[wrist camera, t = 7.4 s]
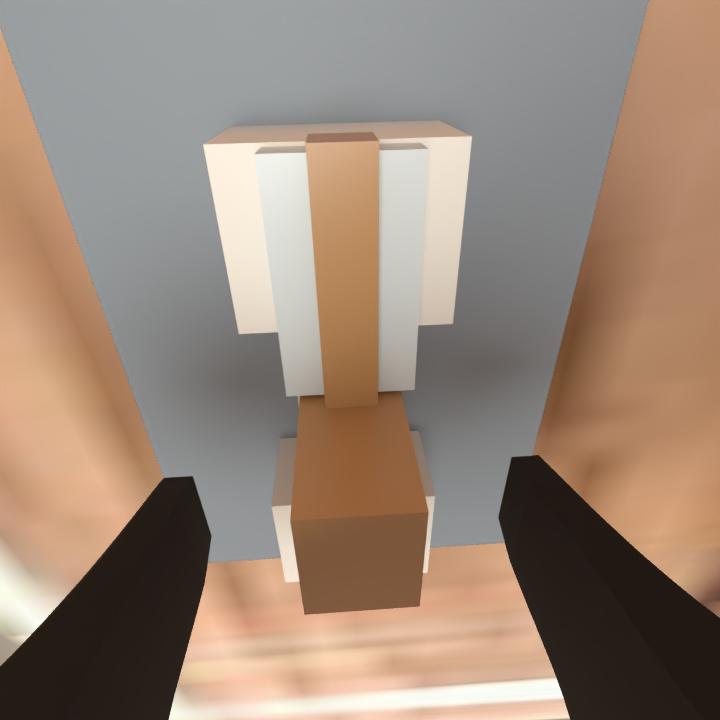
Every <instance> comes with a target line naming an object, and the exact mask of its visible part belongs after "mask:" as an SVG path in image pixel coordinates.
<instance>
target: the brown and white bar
mask: <svg viewBox="0 0 720 720" xmlns="http://www.w3.org/2000/svg"><path fill="white" fill-rule="evenodd" d="M305 144H306V146H279V147H260V148H259V149H258V150H257V151H256V153H255V154H254V155H255V162H256V170H257V178H258V185H259V193H260V200H261V208H262V215H263V223H264V231H265V238H266V246H267V253H268V261H269V268H270V276H271V284H272V291H273V299H274V306H275V314H276V321H277V329H278V337H279V344H280V352H281V359H282V367H283V374H284V382H285V390H286V397H287V396H300V402H299V415H298V428H297V440H296V453H295V465H294V478H293V490H292V503H291V515H290V524H291V530H292V536H293V543H294V549H295V556H296V562H297V569H298V575H299V581H300V588H301V594H302V601H303V607H304V614H305V615H306V614H320V613H334V612H348V611H361V610H375V609H389V608H403V607H417V606H420V597H421V586H422V576H423V566H424V556H425V545H426V535H427V525H428V515H429V511H428V507H427V502H426V498H425V494H424V489H423V485H422V480H421V476H420V472H419V467H418V463H417V459H416V454H415V450H414V446H413V441H412V437H411V433H410V428H409V424H408V419H407V415H406V411H405V406H404V402H403V398H402V393H401V391H403V390H414V389H415V372H416V355H417V338H418V321H419V304H420V287H421V270H422V254H423V237H424V220H425V203H426V186H427V169H428V152H429V149H428V148H427V147H426V146H424V145H423V144H422V143H421V142H420V143H385V144H379V140H378V138H377V137H376V136H375V134H374V133H373V132H354V133H317V134H308V135H307V139H306V143H305Z"/></svg>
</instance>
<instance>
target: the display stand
mask: <svg viewBox="0 0 720 720" xmlns="http://www.w3.org/2000/svg"><path fill="white" fill-rule="evenodd" d="M648 1H649V0H0V29H1V31H2V34H3V37H4V40H5V42H6V45H7V48H8V51H9V53H10V56H11V59H12V62H13V64H14V67H15V70H16V73H17V75H18V78H19V81H20V84H21V86H22V89H23V92H24V95H25V97H26V100H27V103H28V106H29V108H30V111H31V114H32V117H33V119H34V122H35V125H36V128H37V130H38V133H39V136H40V139H41V141H42V144H43V147H44V150H45V152H46V155H47V158H48V161H49V163H50V166H51V169H52V172H53V174H54V177H55V180H56V183H57V186H58V188H59V191H60V194H61V197H62V199H63V202H64V205H65V208H66V210H67V213H68V216H69V219H70V221H71V224H72V227H73V230H74V232H75V235H76V238H77V241H78V243H79V246H80V249H81V252H82V254H83V257H84V260H85V263H86V265H87V268H88V271H89V274H90V276H91V279H92V282H93V285H94V287H95V290H96V293H97V296H98V298H99V301H100V304H101V307H102V309H103V312H104V315H105V318H106V320H107V323H108V326H109V329H110V331H111V334H112V337H113V340H114V342H115V345H116V348H117V351H118V353H119V356H120V359H121V362H122V364H123V367H124V370H125V373H126V375H127V378H128V381H129V384H130V387H131V389H132V392H133V395H134V398H135V400H136V403H137V406H138V409H139V411H140V414H141V417H142V420H143V422H144V425H145V428H146V431H147V433H148V436H149V439H150V442H151V444H152V447H153V450H154V453H155V455H156V458H157V461H158V464H159V466H160V469H161V472H162V475H163V477H164V478H169V477H186V476H193V478H194V481H195V484H196V488H197V491H198V494H199V497H200V500H201V504H202V507H203V510H204V513H205V516H206V520H207V523H208V526H209V529H210V532H211V536H212V537H211V544H210V551H209V558H208V563H215V562H230V561H244V560H259V559H274V558H281V560H282V565H283V570H284V576H285V581H286V582H299V575H298V569H297V562H296V556H295V549H294V543H293V536H292V530H291V524H290V515H291V503H292V490H293V478H294V465H295V453H296V440H297V428H298V415H299V402H300V396H287V397H286V390H285V382H284V374H283V367H282V359H281V352H280V344H279V337H278V329H277V321H276V314H275V306H274V299H273V291H272V284H271V276H270V268H269V261H268V253H267V246H266V238H265V231H264V223H263V215H262V208H261V200H260V193H259V185H258V178H257V170H256V162H255V155H254V154H255V153H256V151H257V150H258V149H259V148H260V147H279V146H306V144H305V143H306V139H307V135H308V134H317V133H354V132H373V133H374V134H375V136H376V137H377V138H378V140H379V144H385V143H420V142H421V143H422V144H423V145H424V146H426V147H427V148H428V149H429V152H428V169H427V186H426V203H425V220H424V237H423V254H422V270H421V287H420V304H419V321H418V338H417V355H416V372H415V389H414V390H403V391H401V393H402V398H403V402H404V406H405V411H406V415H407V419H408V424H409V428H410V433H411V437H412V441H413V446H414V450H415V454H416V459H417V463H418V467H419V472H420V476H421V480H422V485H423V489H424V494H425V498H426V502H427V507H428V511H429V515H428V525H427V535H426V545H425V556H424V566H423V573H427V570H428V561H429V551H430V548H436V547H451V546H465V545H480V544H495V543H505V541H504V538H503V534H502V530H501V526H500V523H499V519H498V516H499V511H500V507H501V502H502V498H503V493H504V489H505V484H506V480H507V475H508V471H509V466H510V462H511V457H518V456H532V455H533V451H534V447H535V443H536V439H537V435H538V431H539V427H540V423H541V419H542V416H543V412H544V408H545V404H546V400H547V396H548V392H549V388H550V384H551V380H552V376H553V372H554V369H555V365H556V361H557V357H558V353H559V349H560V345H561V341H562V337H563V333H564V329H565V325H566V322H567V318H568V314H569V310H570V306H571V302H572V298H573V294H574V290H575V286H576V282H577V279H578V275H579V271H580V267H581V263H582V259H583V255H584V251H585V247H586V243H587V239H588V235H589V232H590V228H591V224H592V220H593V216H594V212H595V208H596V204H597V200H598V196H599V192H600V188H601V185H602V181H603V177H604V173H605V169H606V165H607V161H608V157H609V153H610V149H611V145H612V141H613V138H614V134H615V130H616V126H617V122H618V118H619V114H620V110H621V106H622V102H623V98H624V95H625V91H626V87H627V83H628V79H629V75H630V71H631V67H632V63H633V59H634V55H635V51H636V48H637V44H638V40H639V36H640V32H641V28H642V24H643V20H644V16H645V12H646V8H647V4H648Z"/></svg>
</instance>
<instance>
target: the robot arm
mask: <svg viewBox="0 0 720 720" xmlns="http://www.w3.org/2000/svg"><path fill="white" fill-rule="evenodd" d="M498 519H499V523H500V526H501V530H502V534H503V538H504V541H505V545H506V548H507V552H508V555H509V559H510V562H511V565H512V567H513V570H514V573H515V575H516V578H517V580H518V583H519V585H520V588H521V590H522V593H523V595H524V598H525V600H526V603H527V605H528V608H529V610H530V613H531V615H532V617H533V620H534V622H535V625H536V627H537V630H538V632H539V635H540V637H541V640H542V642H543V645H544V647H545V649H546V652H547V654H548V657H549V659H550V662H551V664H552V667H553V669H554V672H555V675H556V678H557V680H558V683H559V686H560V688H561V691H562V694H563V697H564V700H565V704H566V707H567V710H568V713H569V717H570V720H720V618H719V617H718V616H716V615H715V614H714V613H713V612H711V611H710V610H709V609H707V608H706V607H705V606H703V605H702V604H701V603H700V602H698V601H697V600H696V599H694V598H693V597H692V596H691V595H689V594H688V593H687V592H686V591H684V590H683V589H682V588H681V587H680V586H678V585H677V584H676V583H675V582H673V581H672V580H671V579H670V578H669V577H668V576H666V575H665V574H664V573H663V572H662V571H661V570H659V569H658V568H657V567H656V566H655V565H654V564H652V563H651V562H650V561H649V560H648V559H647V558H645V557H644V556H643V555H642V554H641V553H640V552H639V551H638V550H637V549H635V548H634V547H633V546H632V545H631V544H630V543H629V542H628V541H627V540H626V539H624V538H623V537H622V536H621V535H620V534H619V533H618V532H617V531H616V530H615V529H614V528H613V527H612V526H610V525H609V524H608V523H607V522H606V521H605V520H604V519H603V518H602V517H601V516H600V515H599V514H598V513H597V512H596V511H595V510H594V509H593V508H591V507H590V506H589V505H588V504H587V503H586V502H585V501H584V500H583V499H582V498H581V497H580V496H579V495H578V494H577V493H576V492H575V491H574V490H573V489H572V488H571V487H570V486H569V485H568V484H567V483H566V482H565V481H564V480H563V479H562V478H561V477H560V476H559V475H558V474H557V473H556V472H555V471H554V470H553V469H552V468H551V467H550V466H549V465H548V464H547V463H546V462H545V461H544V460H543V459H542V458H541V457H540V456H539V455H535V456H518V457H511V462H510V466H509V471H508V475H507V480H506V484H505V489H504V493H503V498H502V502H501V507H500V511H499V516H498ZM211 537H212V536H211V532H210V529H209V526H208V523H207V520H206V516H205V513H204V510H203V507H202V504H201V500H200V497H199V494H198V491H197V488H196V484H195V481H194V478H193V476H186V477H169V478H164V479H163V480H162V481H161V482H160V483H159V484H158V485H157V487H156V488H155V489H154V491H153V492H152V493H151V494H150V496H149V497H148V498H147V500H146V501H145V502H144V503H143V505H142V506H141V507H140V508H139V510H138V511H137V512H136V514H135V515H134V516H133V517H132V519H131V520H130V521H129V522H128V524H127V525H126V526H125V527H124V529H123V530H122V531H121V532H120V534H119V535H118V536H117V537H116V539H115V540H114V541H113V542H112V544H111V545H110V546H109V547H108V548H107V550H106V551H105V552H104V553H103V554H102V556H101V557H100V558H99V559H98V560H97V562H96V563H95V564H94V565H93V566H92V568H91V569H90V570H89V571H88V572H87V574H86V575H85V576H84V577H83V578H82V579H81V581H80V582H79V583H78V584H77V585H76V586H75V587H74V588H73V589H72V591H71V592H70V593H69V594H68V595H67V596H66V597H65V598H64V600H63V601H62V602H61V603H60V604H59V605H58V606H57V607H56V608H55V610H54V611H53V612H52V613H51V614H50V615H49V616H48V617H47V619H46V620H45V621H44V622H43V623H42V624H41V625H40V626H39V627H38V628H37V629H36V630H35V631H34V632H33V633H32V634H31V636H30V637H29V638H28V639H27V640H26V641H25V642H24V643H23V644H22V645H21V646H20V647H19V648H18V649H17V650H16V651H15V652H14V653H13V654H12V656H10V657H9V658H8V659H7V660H6V661H5V662H4V663H3V664H2V665H1V666H0V720H168V719H169V715H170V711H171V707H172V702H173V698H174V694H175V691H176V687H177V683H178V680H179V676H180V672H181V669H182V665H183V662H184V658H185V654H186V651H187V647H188V643H189V640H190V636H191V632H192V629H193V625H194V621H195V617H196V614H197V610H198V606H199V602H200V599H201V595H202V591H203V587H204V583H205V577H206V571H207V565H208V558H209V551H210V544H211Z"/></svg>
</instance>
